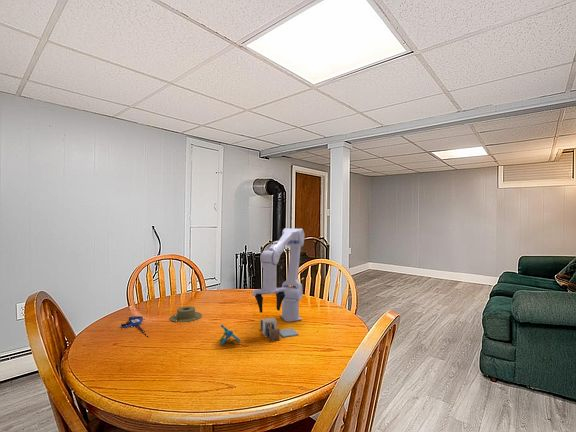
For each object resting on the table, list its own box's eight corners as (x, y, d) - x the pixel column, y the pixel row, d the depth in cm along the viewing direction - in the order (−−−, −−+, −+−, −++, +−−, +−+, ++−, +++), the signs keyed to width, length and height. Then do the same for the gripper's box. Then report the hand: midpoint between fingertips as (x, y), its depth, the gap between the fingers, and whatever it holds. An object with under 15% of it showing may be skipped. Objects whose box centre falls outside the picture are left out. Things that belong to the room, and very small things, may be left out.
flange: (162, 311, 145) (188, 315, 139) (184, 303, 159) (208, 306, 153) (162, 321, 145) (188, 325, 139) (184, 312, 159) (208, 315, 153)
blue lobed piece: (244, 341, 116) (225, 325, 114) (234, 355, 114) (215, 338, 112) (237, 335, 126) (219, 320, 124) (227, 347, 124) (209, 332, 122)
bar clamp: (117, 319, 140) (140, 314, 147) (117, 324, 140) (140, 319, 147) (138, 343, 116) (164, 336, 123) (138, 349, 116) (164, 342, 123)
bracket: (262, 333, 129) (262, 318, 129) (273, 331, 131) (273, 317, 131) (265, 336, 125) (265, 321, 125) (276, 335, 127) (276, 320, 127)
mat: (277, 331, 131) (277, 330, 131) (292, 329, 133) (292, 328, 133) (282, 337, 124) (282, 336, 124) (298, 335, 127) (298, 333, 127)
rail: (260, 329, 134) (260, 320, 134) (269, 327, 135) (269, 318, 135) (270, 341, 120) (270, 331, 120) (279, 340, 122) (279, 330, 122)
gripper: (255, 282, 122) (255, 315, 121) (289, 279, 127) (289, 311, 127) (251, 278, 128) (251, 310, 128) (283, 276, 133) (283, 307, 133)
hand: (269, 310), depth 128 cm, fingers open, 7 cm apart
